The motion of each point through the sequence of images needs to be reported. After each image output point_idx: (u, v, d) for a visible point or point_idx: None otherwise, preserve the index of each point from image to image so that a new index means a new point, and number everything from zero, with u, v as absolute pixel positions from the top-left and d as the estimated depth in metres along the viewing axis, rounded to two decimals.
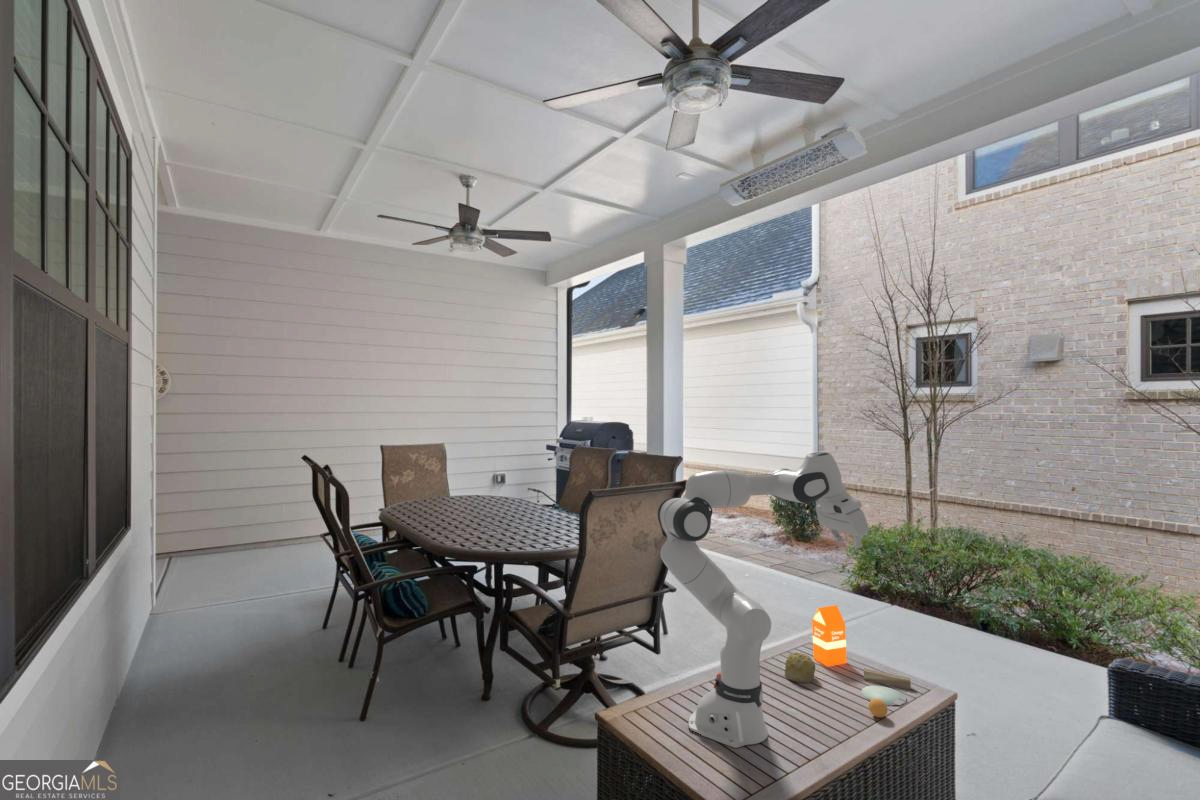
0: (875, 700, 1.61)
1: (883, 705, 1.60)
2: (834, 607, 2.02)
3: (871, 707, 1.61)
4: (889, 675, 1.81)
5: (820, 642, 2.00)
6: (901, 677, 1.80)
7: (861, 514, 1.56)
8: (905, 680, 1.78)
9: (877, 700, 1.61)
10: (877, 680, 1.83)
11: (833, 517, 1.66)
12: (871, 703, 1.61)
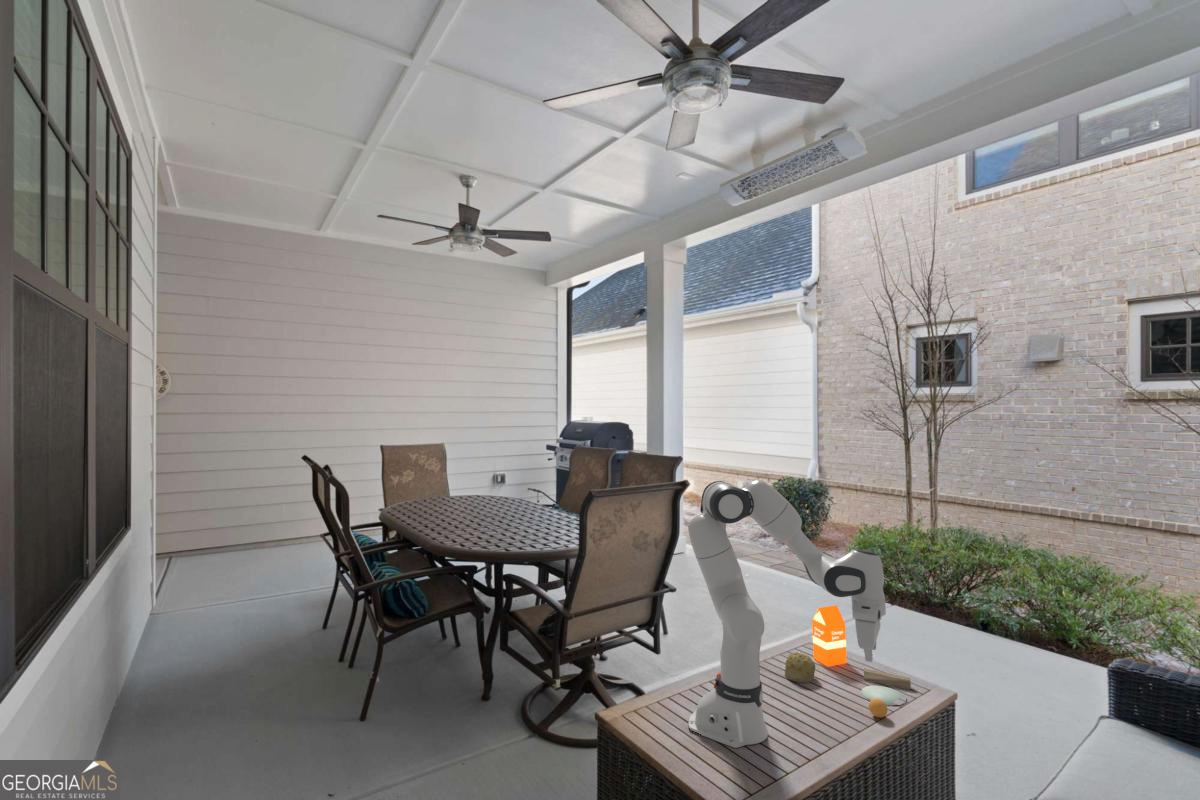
0: (875, 700, 1.61)
1: (883, 705, 1.60)
2: (834, 607, 2.02)
3: (871, 707, 1.61)
4: (889, 675, 1.81)
5: (820, 642, 2.00)
6: (901, 677, 1.80)
7: (869, 628, 1.47)
8: (905, 680, 1.78)
9: (877, 700, 1.61)
10: (877, 680, 1.83)
11: None
12: (871, 703, 1.61)
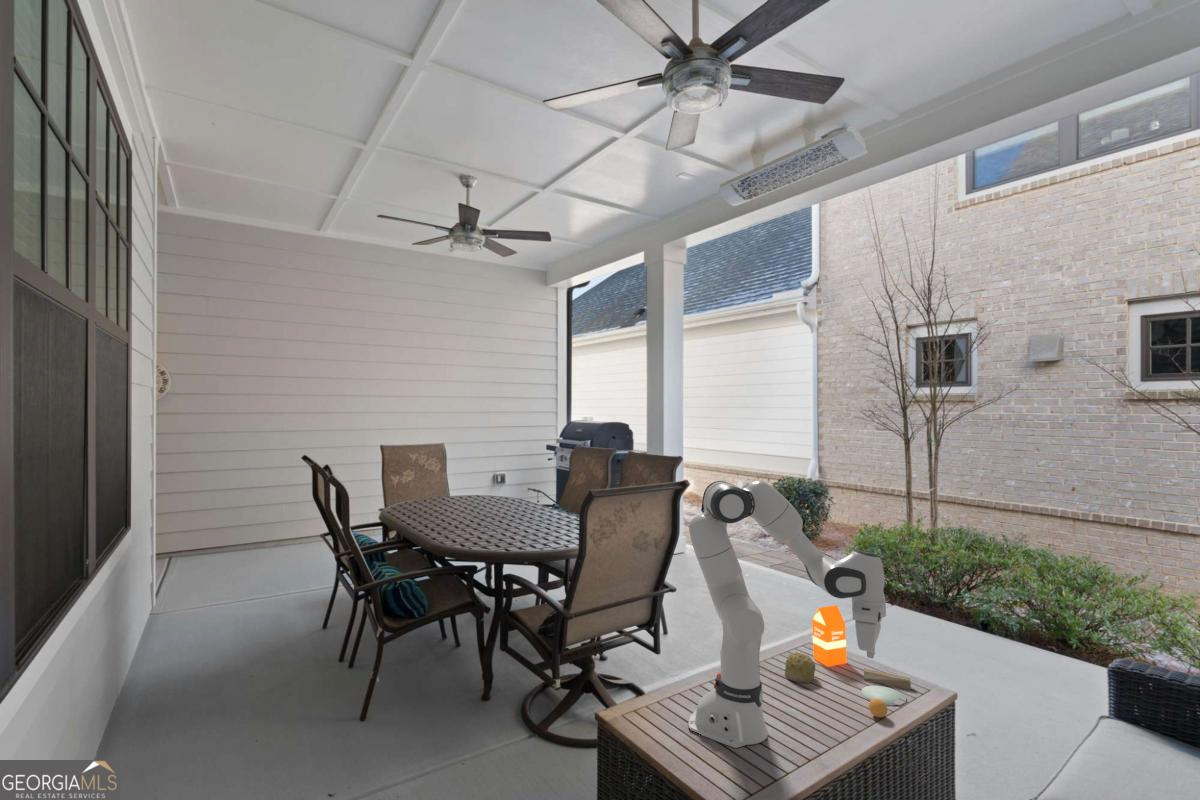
0: (875, 700, 1.61)
1: (883, 705, 1.60)
2: (834, 607, 2.02)
3: (871, 707, 1.61)
4: (889, 675, 1.81)
5: (820, 642, 2.00)
6: (901, 677, 1.80)
7: (869, 630, 1.47)
8: (905, 680, 1.78)
9: (877, 700, 1.61)
10: (877, 680, 1.83)
11: None
12: (871, 703, 1.61)
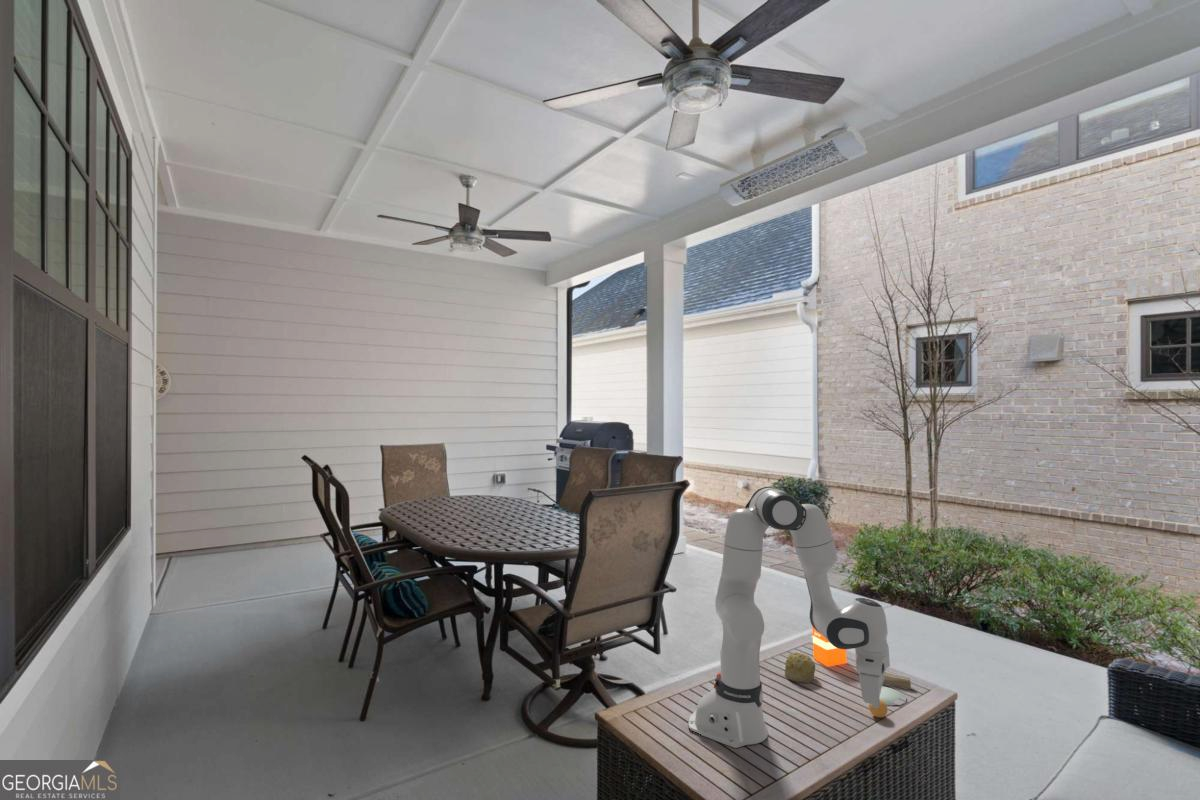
0: None
1: (883, 705, 1.60)
2: None
3: (871, 707, 1.61)
4: (889, 675, 1.81)
5: (820, 642, 2.00)
6: (901, 677, 1.80)
7: (873, 683, 1.46)
8: (905, 680, 1.78)
9: None
10: None
11: None
12: None
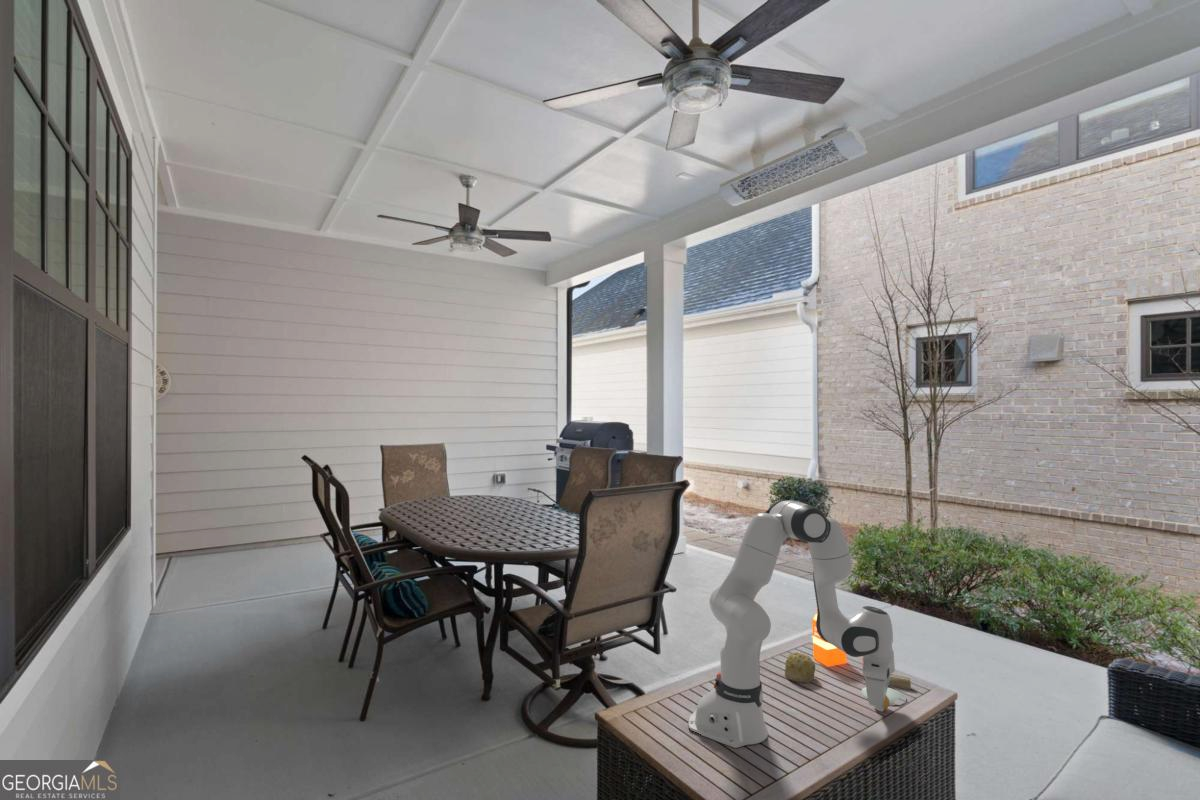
0: None
1: None
2: None
3: None
4: None
5: (820, 642, 2.00)
6: (901, 677, 1.80)
7: (879, 686, 1.54)
8: (905, 680, 1.78)
9: None
10: None
11: None
12: None
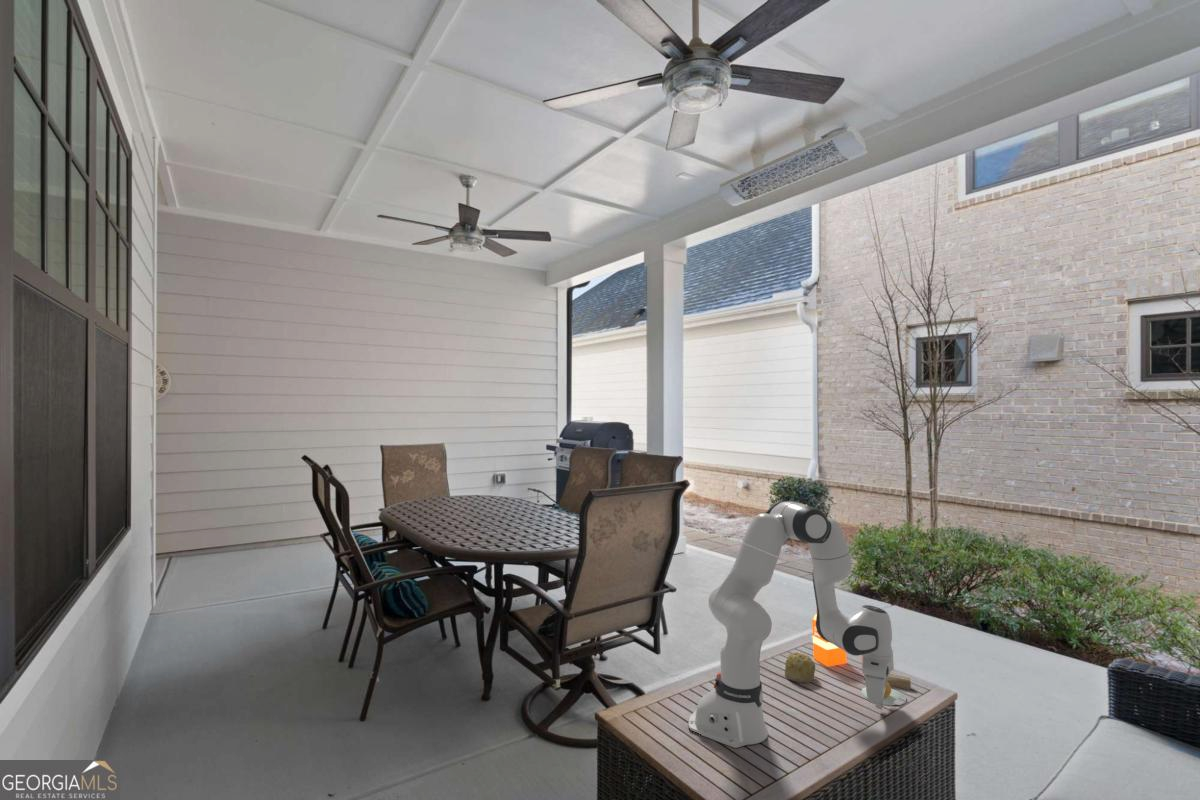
0: None
1: (888, 689, 1.71)
2: None
3: None
4: (889, 675, 1.81)
5: (820, 642, 2.00)
6: (901, 677, 1.80)
7: (878, 684, 1.56)
8: (905, 680, 1.78)
9: None
10: None
11: None
12: None
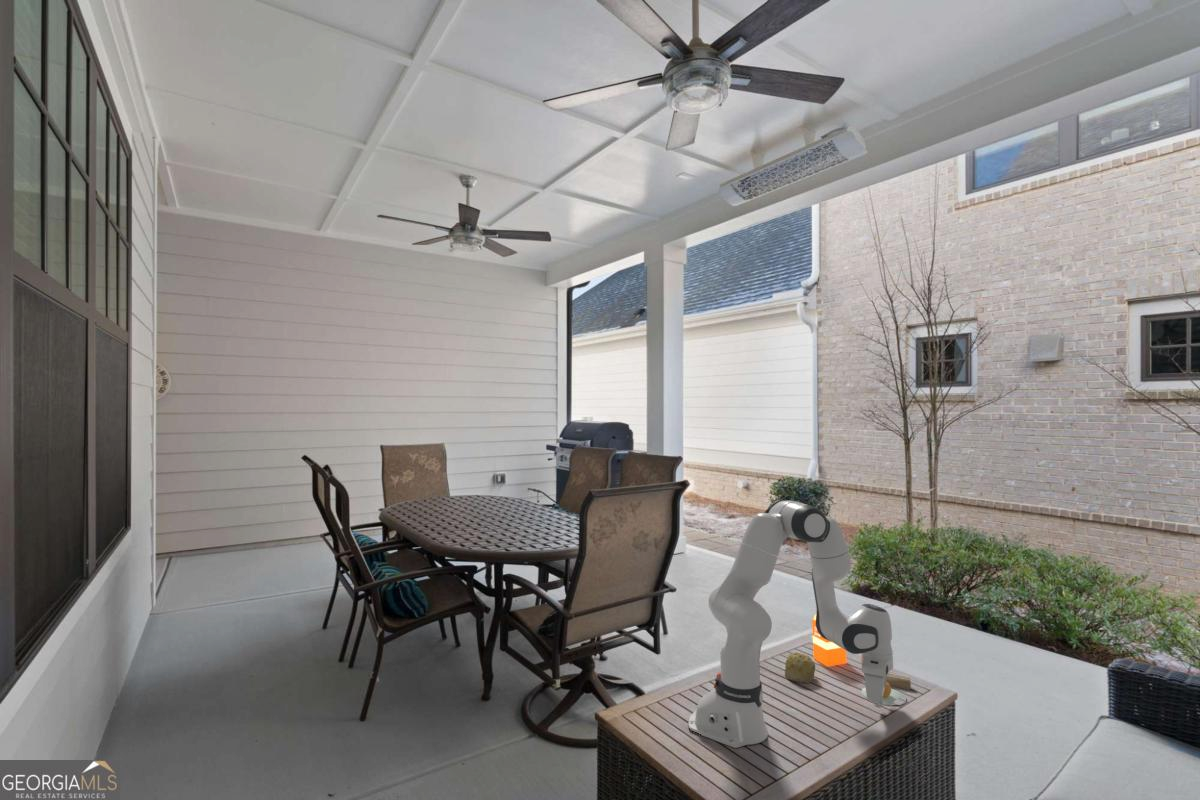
0: None
1: (888, 689, 1.71)
2: None
3: None
4: (889, 675, 1.81)
5: (820, 642, 2.00)
6: (901, 677, 1.80)
7: (878, 683, 1.56)
8: (905, 680, 1.78)
9: None
10: None
11: None
12: None
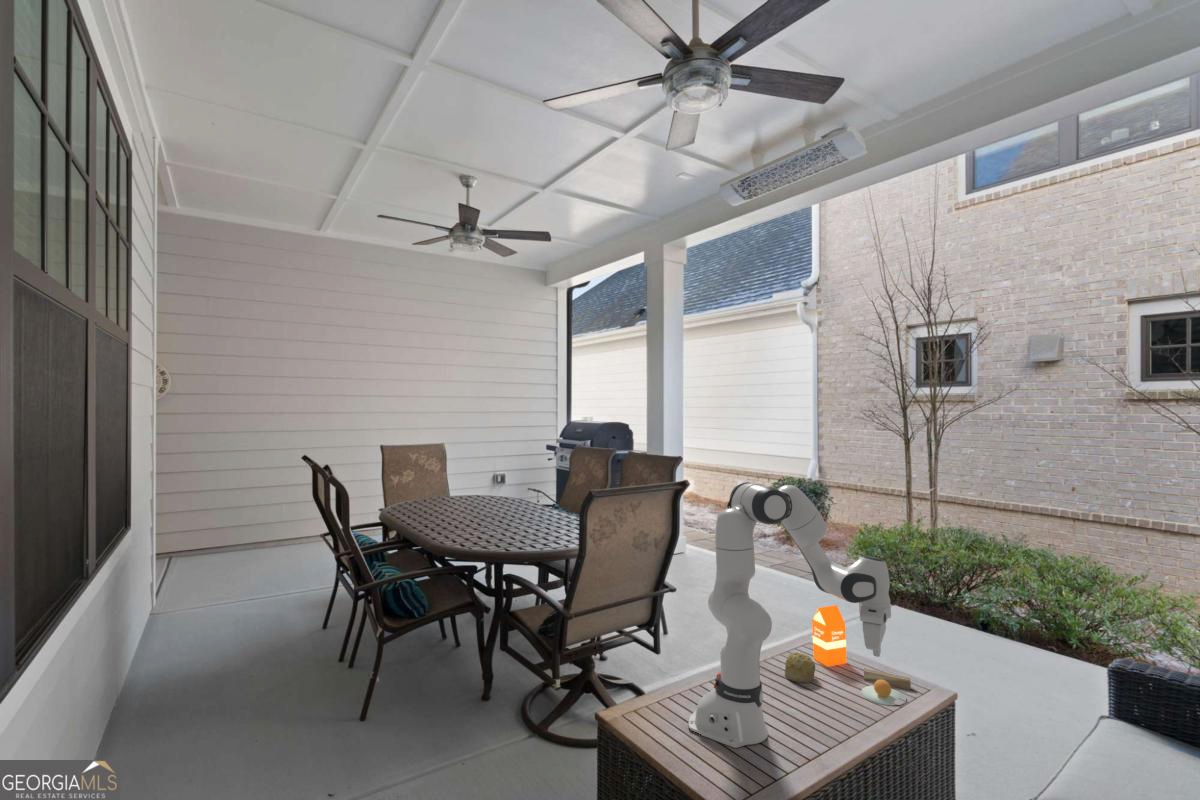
0: (880, 685, 1.72)
1: (888, 689, 1.71)
2: (834, 607, 2.02)
3: (877, 691, 1.73)
4: (889, 675, 1.81)
5: (820, 642, 2.00)
6: (901, 677, 1.80)
7: (876, 630, 1.57)
8: (905, 680, 1.78)
9: (882, 685, 1.72)
10: None
11: None
12: (876, 688, 1.73)
